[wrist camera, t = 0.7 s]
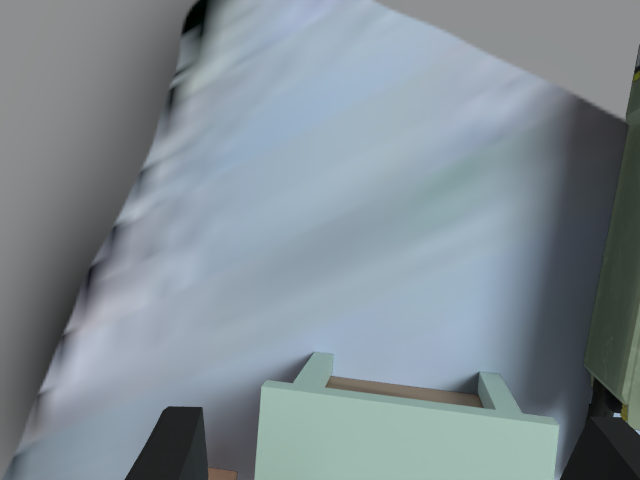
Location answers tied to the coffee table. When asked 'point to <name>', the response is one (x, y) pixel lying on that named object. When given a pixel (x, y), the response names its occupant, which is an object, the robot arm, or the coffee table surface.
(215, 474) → the tan peg
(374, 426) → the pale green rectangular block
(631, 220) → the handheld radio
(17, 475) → the coffee table surface
